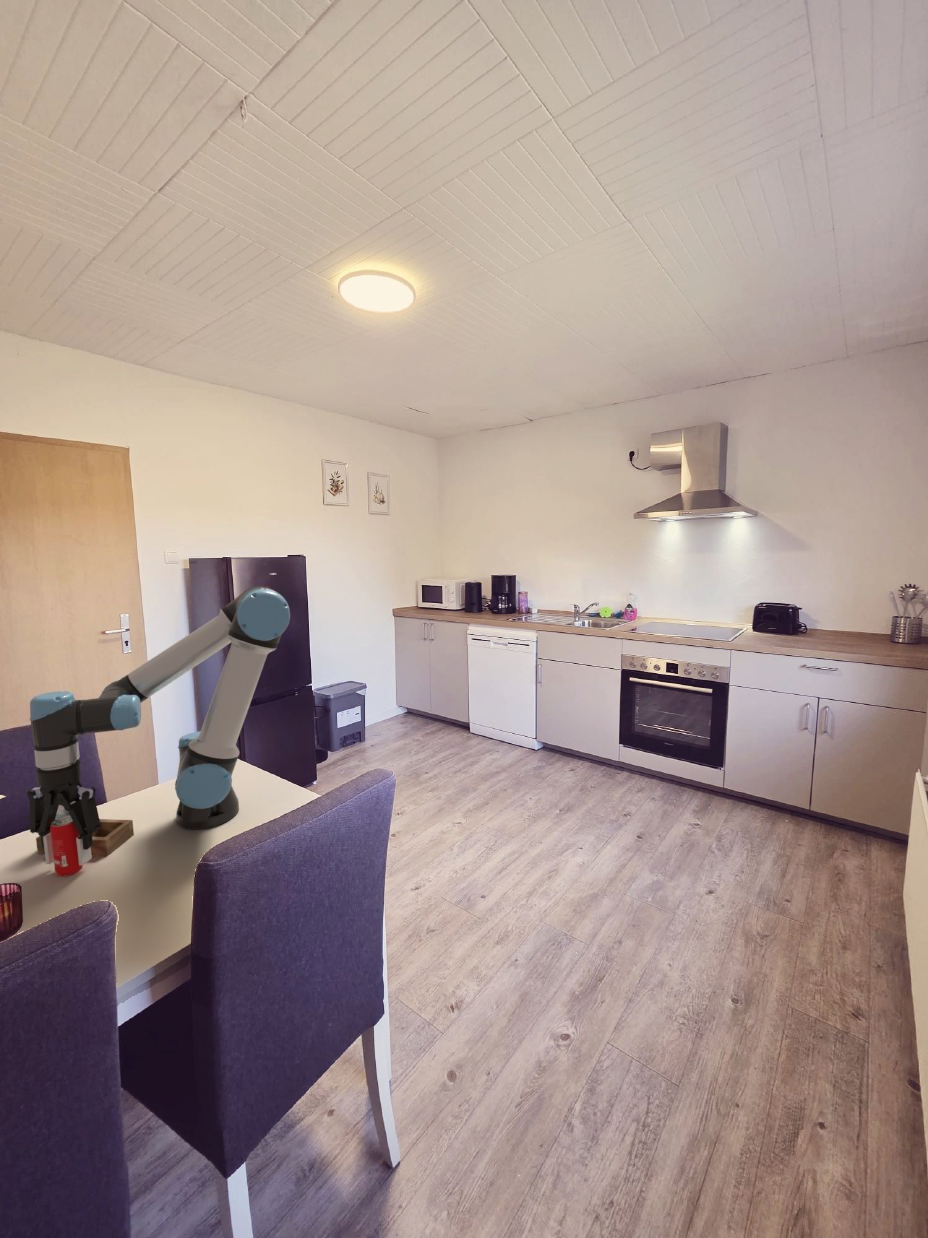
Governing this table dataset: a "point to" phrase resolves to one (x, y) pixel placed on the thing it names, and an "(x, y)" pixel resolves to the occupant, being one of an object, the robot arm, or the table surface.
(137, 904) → the table surface
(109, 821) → the holder
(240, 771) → the table surface
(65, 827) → the beverage can
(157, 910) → the table surface
